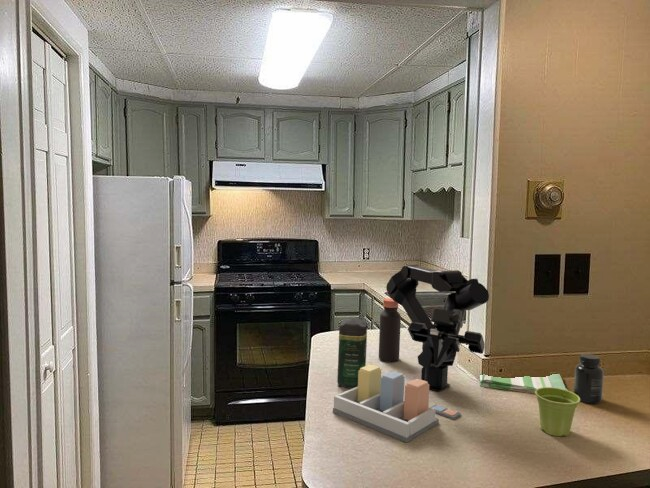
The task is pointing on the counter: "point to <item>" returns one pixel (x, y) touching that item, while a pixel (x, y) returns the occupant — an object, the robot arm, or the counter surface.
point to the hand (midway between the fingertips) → (436, 366)
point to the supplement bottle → (589, 379)
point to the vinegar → (389, 332)
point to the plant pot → (556, 410)
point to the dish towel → (522, 383)
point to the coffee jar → (351, 351)
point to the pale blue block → (391, 390)
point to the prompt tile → (446, 412)
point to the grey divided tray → (383, 416)
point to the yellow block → (368, 382)
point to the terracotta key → (416, 398)
